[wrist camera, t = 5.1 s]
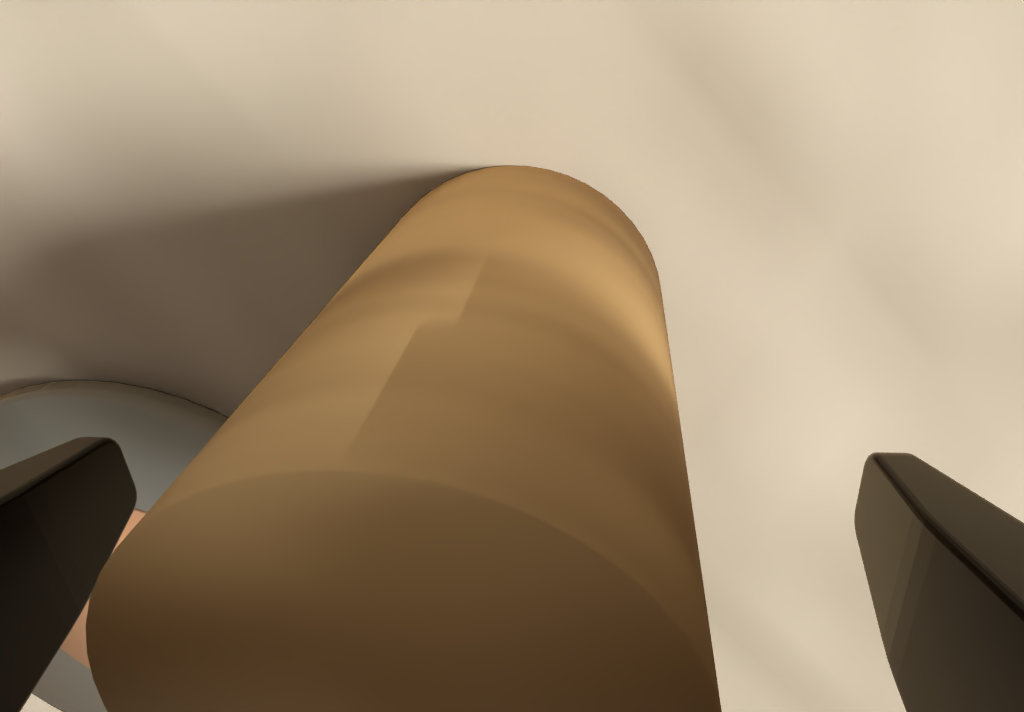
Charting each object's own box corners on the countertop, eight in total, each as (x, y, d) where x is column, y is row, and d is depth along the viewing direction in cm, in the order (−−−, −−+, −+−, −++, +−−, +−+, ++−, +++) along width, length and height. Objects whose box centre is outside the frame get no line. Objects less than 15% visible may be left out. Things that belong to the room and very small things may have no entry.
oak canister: (657, 429, 13) (702, 927, 6) (398, 425, 14) (186, 870, 7) (667, 159, 11) (755, 480, 4) (357, 170, 12) (-19, 460, 5)
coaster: (414, 743, 19) (405, 776, 18) (40, 713, 20) (17, 743, 20) (341, 382, 14) (324, 406, 13) (-151, 378, 15) (-192, 400, 15)
